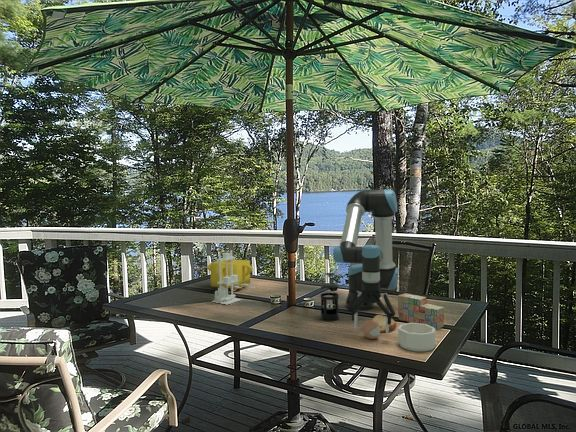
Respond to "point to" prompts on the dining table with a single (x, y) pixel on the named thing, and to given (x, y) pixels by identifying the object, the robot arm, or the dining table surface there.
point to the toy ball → (371, 329)
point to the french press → (329, 314)
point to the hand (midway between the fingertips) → (371, 330)
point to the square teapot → (239, 268)
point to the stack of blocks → (419, 311)
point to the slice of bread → (384, 323)
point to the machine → (227, 282)
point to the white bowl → (416, 337)
